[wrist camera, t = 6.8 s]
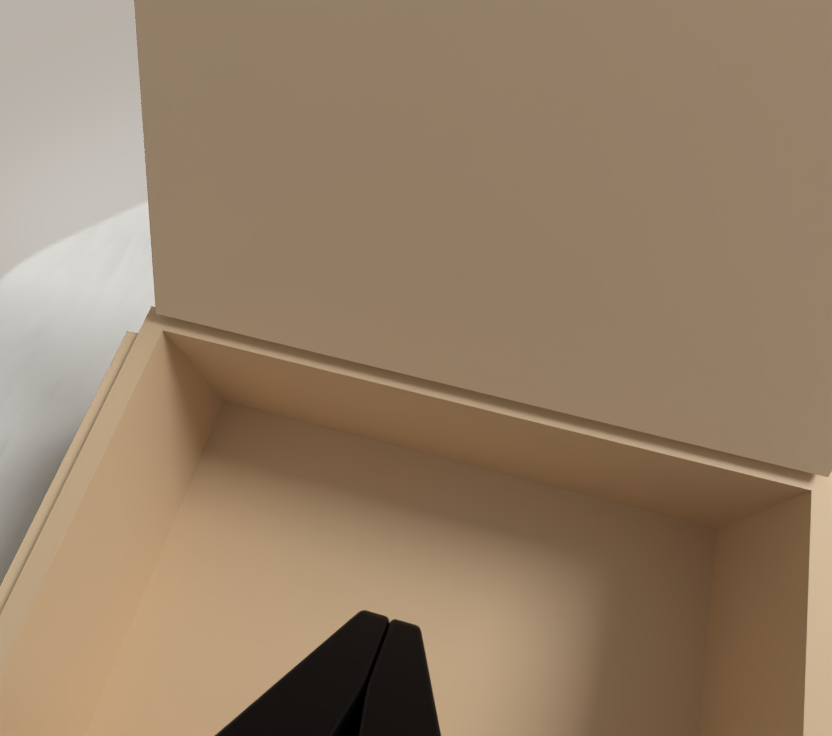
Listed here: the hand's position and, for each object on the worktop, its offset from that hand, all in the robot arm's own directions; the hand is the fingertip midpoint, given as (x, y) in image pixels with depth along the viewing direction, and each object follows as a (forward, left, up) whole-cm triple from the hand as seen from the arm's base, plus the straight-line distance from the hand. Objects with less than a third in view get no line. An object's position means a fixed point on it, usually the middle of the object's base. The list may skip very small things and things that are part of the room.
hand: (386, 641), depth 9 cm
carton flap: (+7, +7, -1) cm, 9 cm away
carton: (0, 0, -12) cm, 12 cm away
